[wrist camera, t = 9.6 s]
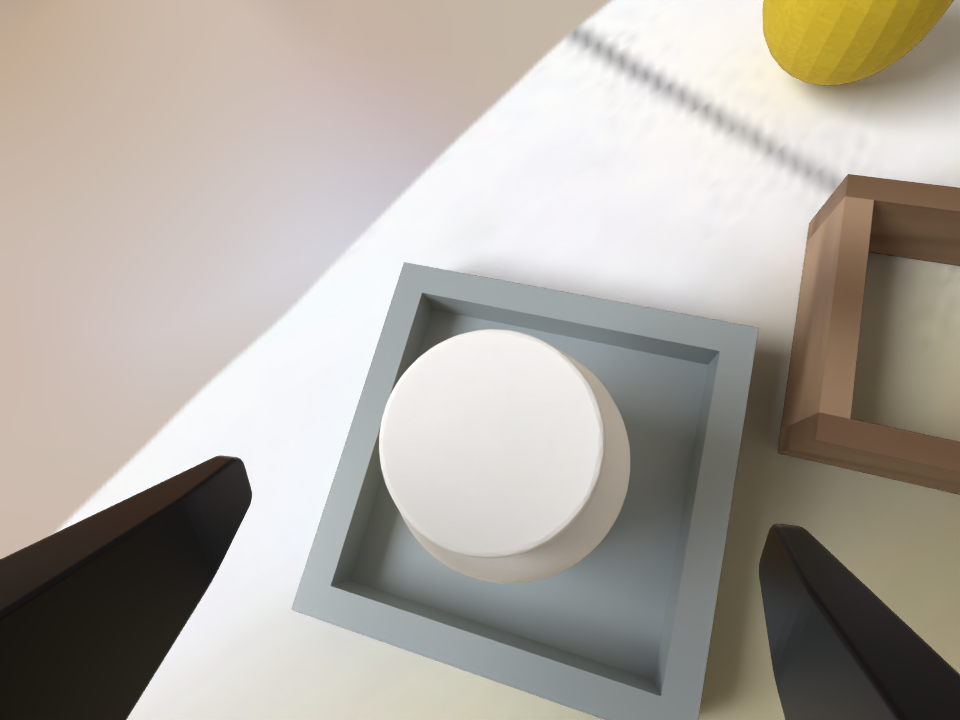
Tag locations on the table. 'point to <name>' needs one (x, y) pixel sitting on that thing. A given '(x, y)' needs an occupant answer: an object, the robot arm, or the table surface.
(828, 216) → the brown wooden open box
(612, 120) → the table surface
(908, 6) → the lemon
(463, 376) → the supplement bottle
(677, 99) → the table surface
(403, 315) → the parts tray
